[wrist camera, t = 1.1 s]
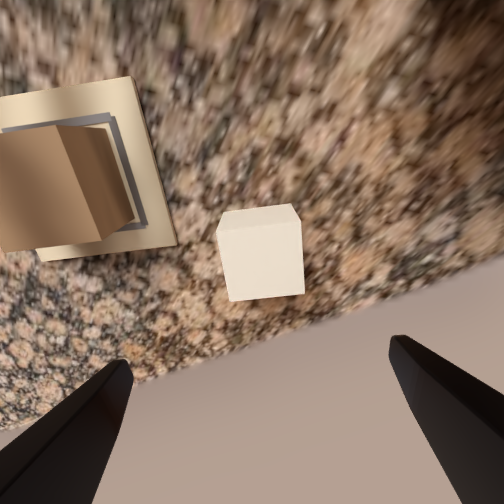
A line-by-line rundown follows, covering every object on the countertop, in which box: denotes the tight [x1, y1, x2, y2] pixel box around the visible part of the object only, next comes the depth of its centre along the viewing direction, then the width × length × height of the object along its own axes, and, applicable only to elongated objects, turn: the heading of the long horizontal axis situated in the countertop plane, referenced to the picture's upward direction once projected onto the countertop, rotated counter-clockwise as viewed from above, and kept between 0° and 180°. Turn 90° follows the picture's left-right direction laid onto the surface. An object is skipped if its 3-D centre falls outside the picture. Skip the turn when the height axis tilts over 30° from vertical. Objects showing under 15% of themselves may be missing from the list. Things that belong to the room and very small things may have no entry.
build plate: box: [0, 76, 178, 262], centre depth 18 cm, size 11×11×1 cm
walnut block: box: [0, 125, 135, 253], centre depth 16 cm, size 6×6×4 cm
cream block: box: [216, 204, 305, 302], centre depth 18 cm, size 5×5×4 cm
